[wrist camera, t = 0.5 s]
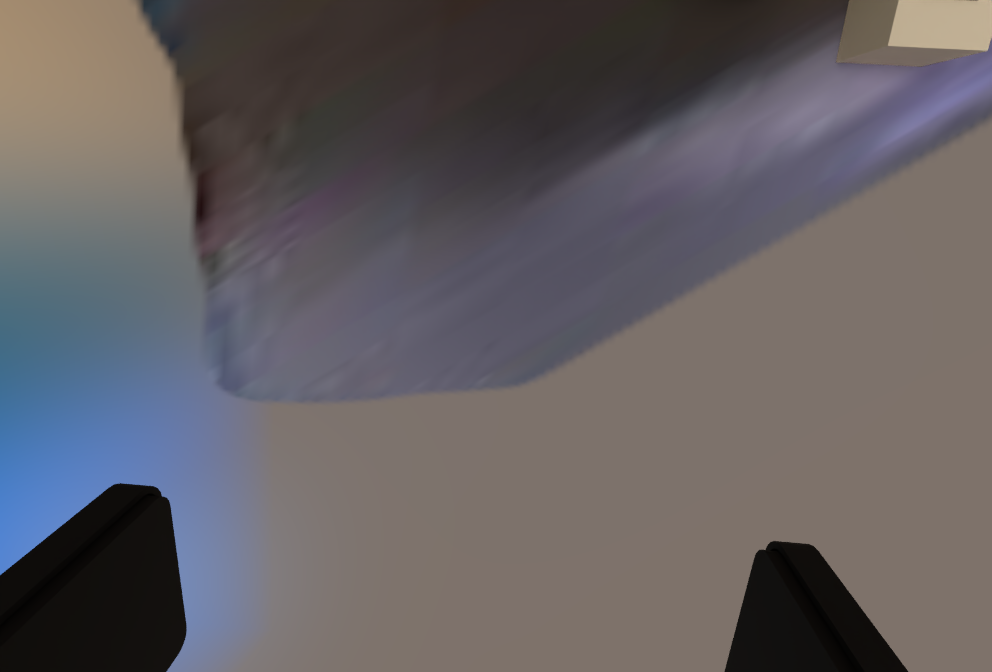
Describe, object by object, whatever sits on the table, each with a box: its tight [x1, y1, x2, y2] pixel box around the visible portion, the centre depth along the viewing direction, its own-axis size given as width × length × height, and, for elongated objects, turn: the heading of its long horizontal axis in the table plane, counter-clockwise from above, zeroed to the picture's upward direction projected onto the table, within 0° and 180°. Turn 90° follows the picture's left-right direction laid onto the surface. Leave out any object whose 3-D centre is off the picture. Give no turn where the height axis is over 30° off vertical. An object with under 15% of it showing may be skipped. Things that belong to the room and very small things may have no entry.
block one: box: [836, 0, 992, 67], centre depth 30 cm, size 5×5×5 cm
